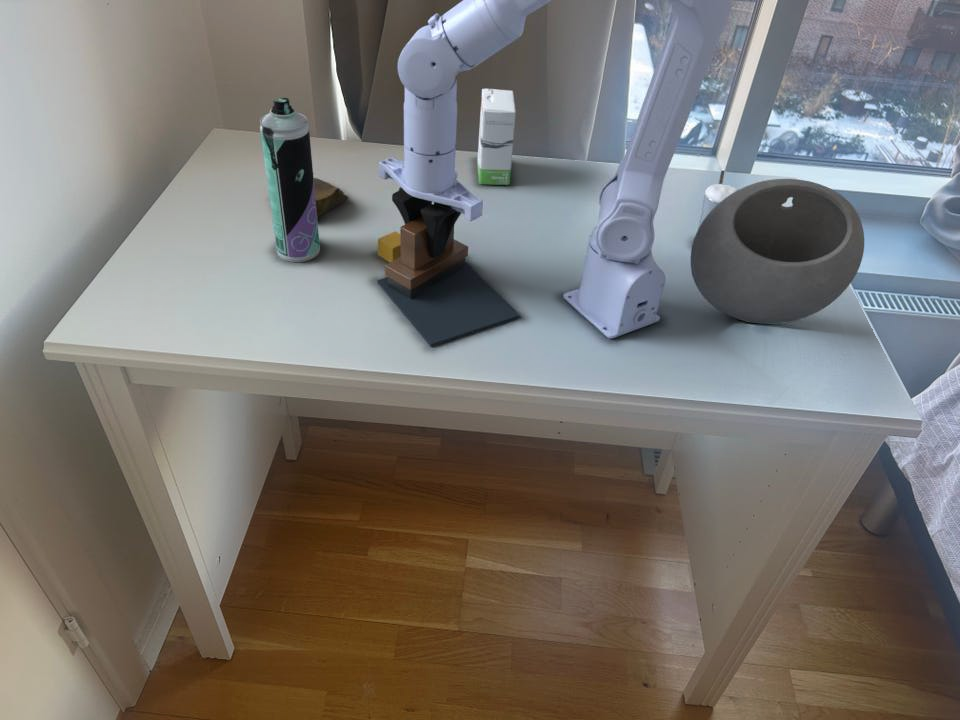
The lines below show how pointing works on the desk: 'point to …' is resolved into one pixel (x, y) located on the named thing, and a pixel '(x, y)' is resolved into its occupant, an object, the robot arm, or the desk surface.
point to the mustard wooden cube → (389, 247)
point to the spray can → (290, 182)
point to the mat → (452, 307)
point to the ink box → (496, 136)
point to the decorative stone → (327, 196)
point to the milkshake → (715, 196)
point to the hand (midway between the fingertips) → (428, 249)
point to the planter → (777, 251)
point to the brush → (422, 260)
